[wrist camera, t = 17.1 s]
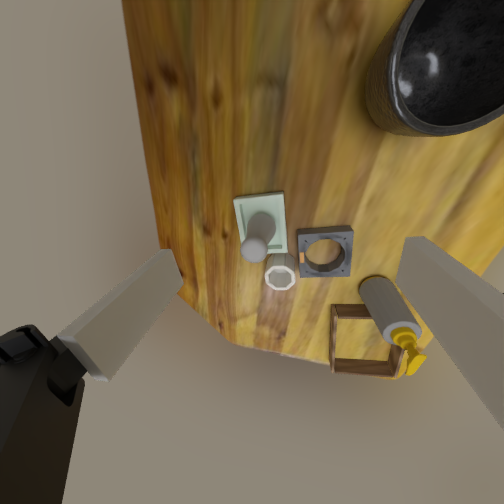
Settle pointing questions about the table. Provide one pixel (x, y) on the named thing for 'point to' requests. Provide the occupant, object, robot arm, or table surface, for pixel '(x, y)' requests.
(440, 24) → the planter
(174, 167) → the table surface
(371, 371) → the book tray
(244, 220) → the mint green tray
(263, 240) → the salt shaker
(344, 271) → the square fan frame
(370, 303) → the soap bottle
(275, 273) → the octagonal gray cup
